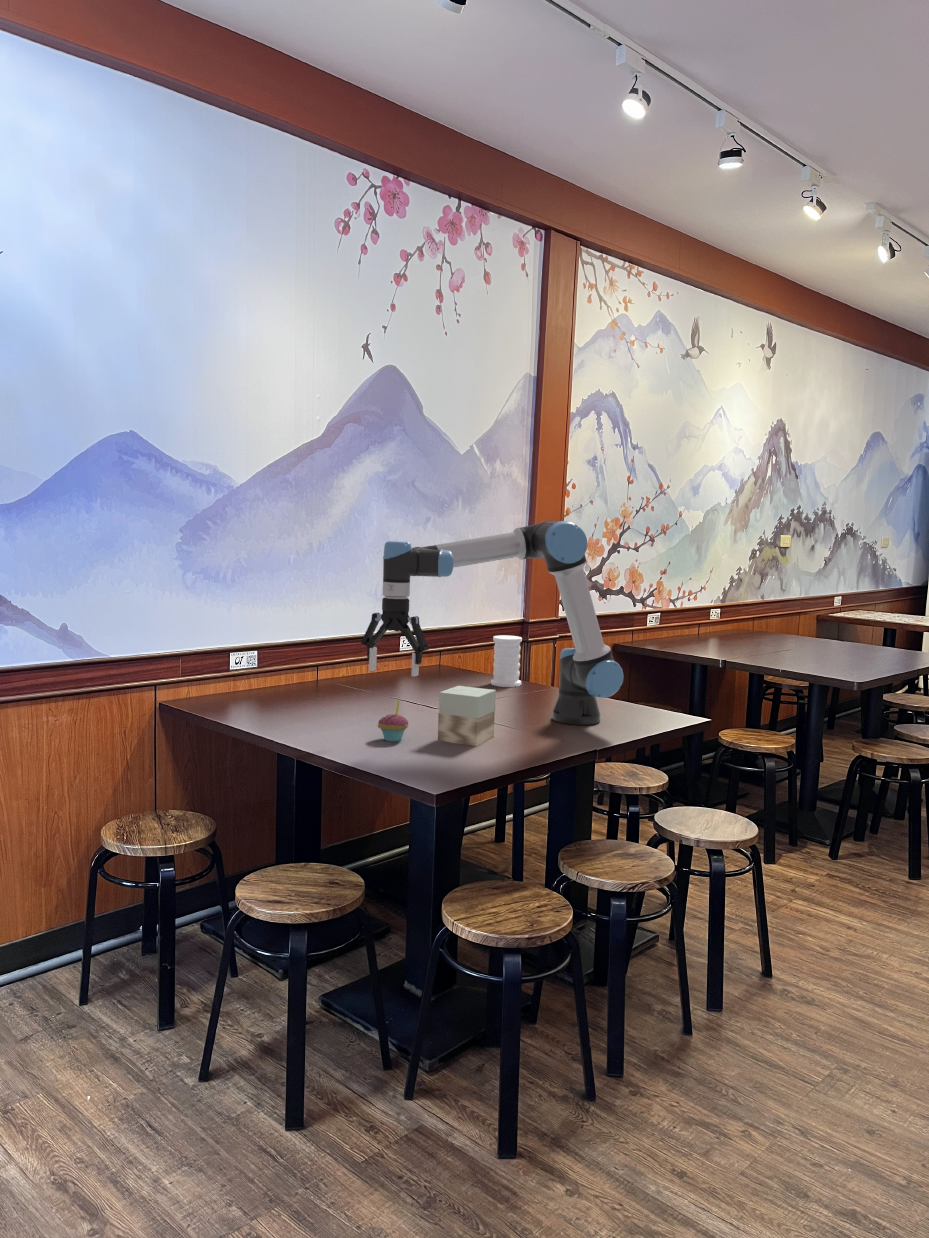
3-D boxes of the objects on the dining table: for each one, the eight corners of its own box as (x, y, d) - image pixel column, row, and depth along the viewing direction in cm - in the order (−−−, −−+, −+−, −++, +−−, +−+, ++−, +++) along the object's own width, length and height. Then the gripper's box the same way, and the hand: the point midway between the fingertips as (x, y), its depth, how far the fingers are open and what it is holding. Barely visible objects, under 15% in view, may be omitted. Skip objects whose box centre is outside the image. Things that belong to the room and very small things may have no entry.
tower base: (493, 737, 265) (494, 710, 264) (476, 746, 255) (477, 718, 254) (456, 732, 270) (457, 705, 270) (437, 740, 260) (438, 713, 259)
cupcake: (392, 734, 265) (393, 693, 263) (414, 739, 259) (415, 697, 258) (371, 739, 258) (372, 697, 257) (393, 745, 253) (394, 702, 252)
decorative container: (487, 681, 354) (489, 635, 352) (517, 681, 356) (518, 635, 354) (494, 687, 343) (495, 639, 341) (524, 687, 345) (526, 639, 343)
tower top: (495, 710, 264) (495, 690, 264) (477, 718, 254) (478, 696, 253) (457, 705, 269) (458, 685, 269) (439, 713, 259) (439, 692, 258)
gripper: (350, 594, 256) (348, 670, 259) (429, 601, 246) (426, 679, 248) (364, 593, 263) (362, 666, 265) (442, 599, 252) (439, 676, 255)
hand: (393, 673), depth 257 cm, fingers open, 13 cm apart
